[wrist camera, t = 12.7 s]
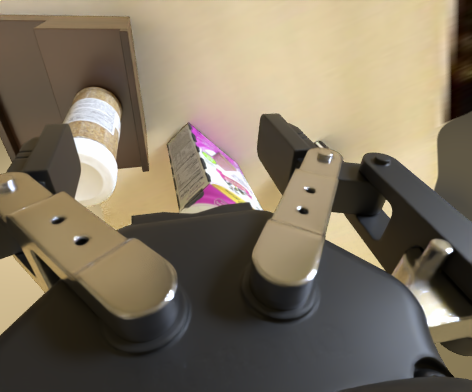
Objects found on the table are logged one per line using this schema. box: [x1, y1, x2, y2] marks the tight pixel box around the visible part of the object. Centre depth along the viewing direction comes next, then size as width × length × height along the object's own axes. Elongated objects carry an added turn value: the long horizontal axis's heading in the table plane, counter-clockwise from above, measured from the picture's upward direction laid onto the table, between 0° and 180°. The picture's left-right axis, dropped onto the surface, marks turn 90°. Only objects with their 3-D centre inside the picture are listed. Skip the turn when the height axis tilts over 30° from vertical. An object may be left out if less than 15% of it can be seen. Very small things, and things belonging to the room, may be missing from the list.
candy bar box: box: [167, 123, 263, 214], centre depth 40 cm, size 11×5×16 cm, turn 43°
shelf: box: [0, 15, 149, 172], centre depth 32 cm, size 14×15×10 cm
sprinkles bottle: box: [63, 87, 122, 207], centre depth 25 cm, size 5×5×14 cm
